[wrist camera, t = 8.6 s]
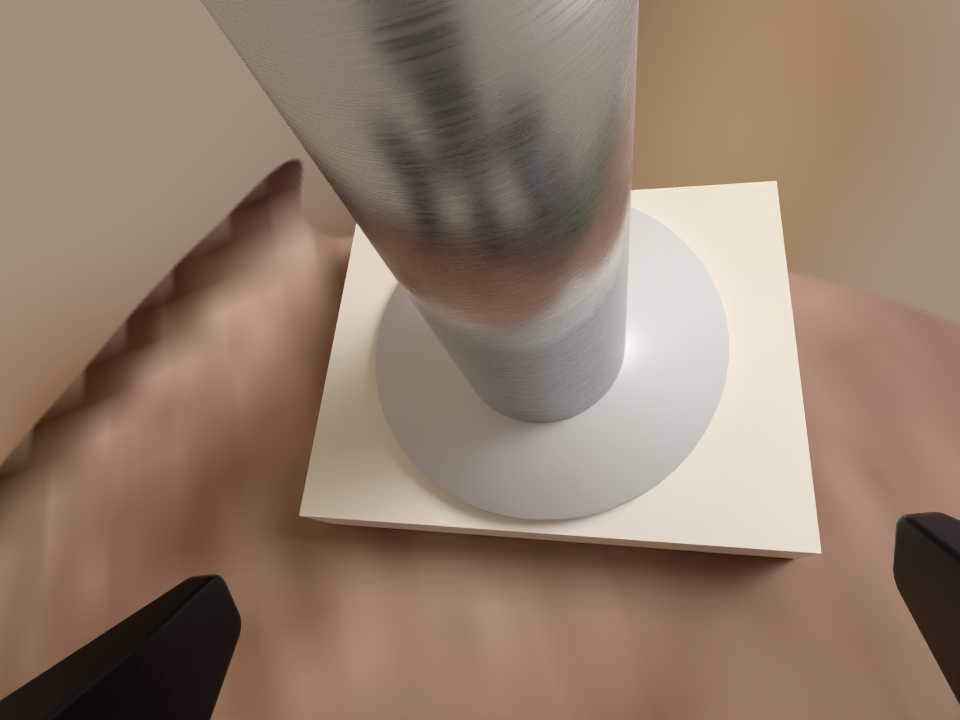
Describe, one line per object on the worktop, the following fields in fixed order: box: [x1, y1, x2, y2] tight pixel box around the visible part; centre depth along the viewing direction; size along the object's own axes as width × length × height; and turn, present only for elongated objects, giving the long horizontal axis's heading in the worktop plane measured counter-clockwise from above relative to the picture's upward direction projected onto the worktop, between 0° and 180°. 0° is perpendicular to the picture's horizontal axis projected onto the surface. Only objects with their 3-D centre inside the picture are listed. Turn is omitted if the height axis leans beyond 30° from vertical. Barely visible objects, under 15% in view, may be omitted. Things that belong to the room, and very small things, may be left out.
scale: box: [299, 181, 821, 559], centre depth 18 cm, size 12×14×3 cm
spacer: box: [201, 0, 639, 423], centre depth 11 cm, size 5×5×13 cm
